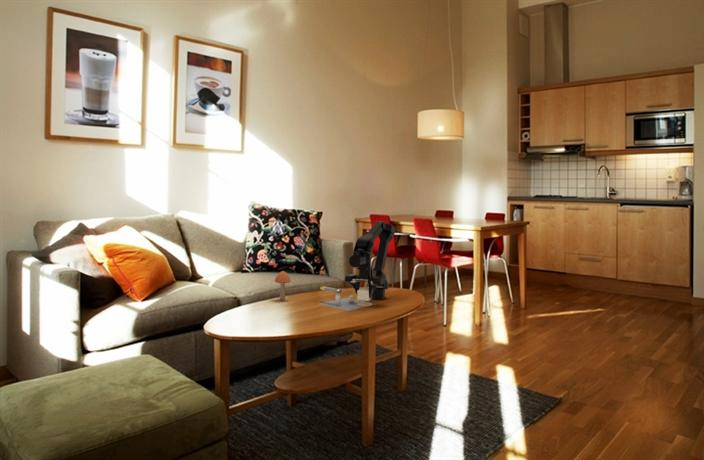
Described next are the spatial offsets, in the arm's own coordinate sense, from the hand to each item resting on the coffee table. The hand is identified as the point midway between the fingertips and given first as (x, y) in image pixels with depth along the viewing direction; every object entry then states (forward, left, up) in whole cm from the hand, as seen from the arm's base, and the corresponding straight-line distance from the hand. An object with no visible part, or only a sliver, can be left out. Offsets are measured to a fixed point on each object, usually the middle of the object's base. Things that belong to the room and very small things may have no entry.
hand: (364, 297), depth 239 cm
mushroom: (+19, -37, -5) cm, 42 cm away
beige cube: (0, 0, -1) cm, 1 cm away
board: (+5, -6, -4) cm, 9 cm away
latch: (+10, -12, +3) cm, 16 cm away
